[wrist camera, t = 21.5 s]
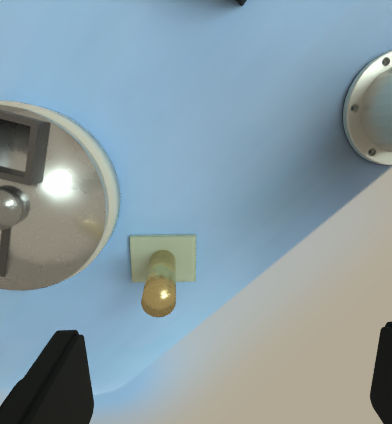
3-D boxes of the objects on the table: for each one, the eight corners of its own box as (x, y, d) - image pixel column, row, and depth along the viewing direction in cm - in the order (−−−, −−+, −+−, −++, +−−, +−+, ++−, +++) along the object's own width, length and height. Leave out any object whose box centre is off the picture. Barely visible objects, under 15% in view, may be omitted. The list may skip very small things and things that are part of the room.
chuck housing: (115, 106, 32) (107, 102, 29) (124, 272, 37) (119, 285, 34) (-74, 103, 31) (-105, 99, 28) (-39, 274, 36) (-61, 288, 33)
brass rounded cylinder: (148, 251, 35) (138, 289, 27) (174, 248, 36) (173, 284, 27) (152, 275, 36) (144, 319, 28) (177, 271, 36) (177, 314, 28)
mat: (195, 234, 36) (196, 236, 35) (195, 278, 38) (195, 281, 37) (130, 234, 36) (129, 237, 35) (133, 279, 37) (132, 282, 36)
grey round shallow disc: (-76, 82, 27) (-118, 73, 24) (124, 134, 29) (116, 134, 26) (-83, 263, 32) (-118, 280, 28) (92, 298, 34) (81, 318, 30)
